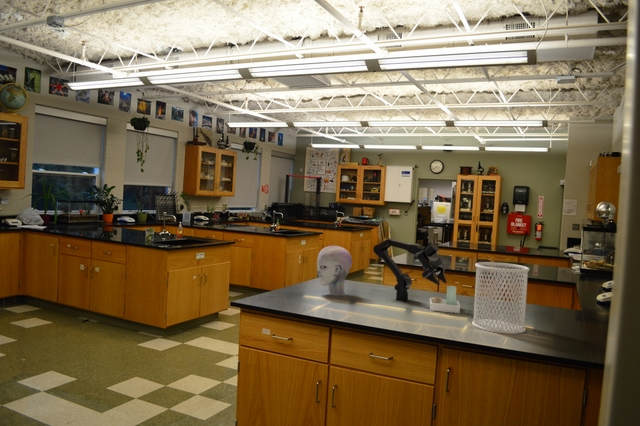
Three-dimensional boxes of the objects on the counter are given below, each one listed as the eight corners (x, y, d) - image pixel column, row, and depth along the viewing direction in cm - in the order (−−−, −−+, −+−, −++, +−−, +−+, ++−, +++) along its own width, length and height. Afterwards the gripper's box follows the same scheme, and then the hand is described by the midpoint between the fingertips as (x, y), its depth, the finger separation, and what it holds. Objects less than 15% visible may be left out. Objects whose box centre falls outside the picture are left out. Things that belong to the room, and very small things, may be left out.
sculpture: (324, 298, 274) (326, 247, 273) (308, 291, 292) (311, 244, 291) (356, 296, 285) (359, 247, 284) (339, 290, 303) (341, 243, 302)
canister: (444, 308, 260) (445, 286, 260) (447, 306, 264) (448, 285, 264) (453, 309, 257) (454, 288, 257) (456, 308, 262) (457, 286, 261)
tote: (430, 310, 256) (430, 303, 256) (429, 305, 270) (429, 298, 270) (459, 313, 253) (460, 305, 253) (457, 307, 267) (457, 300, 267)
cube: (432, 307, 260) (432, 298, 260) (432, 305, 265) (432, 296, 265) (441, 308, 259) (442, 299, 259) (441, 306, 264) (441, 297, 264)
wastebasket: (506, 336, 211) (510, 270, 210) (461, 323, 231) (464, 263, 230) (536, 329, 226) (539, 268, 225) (491, 318, 246) (494, 261, 245)
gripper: (427, 254, 260) (445, 276, 253) (442, 252, 274) (459, 273, 267) (414, 266, 265) (431, 289, 258) (429, 264, 279) (446, 285, 273)
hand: (442, 283), depth 264 cm, fingers open, 9 cm apart
